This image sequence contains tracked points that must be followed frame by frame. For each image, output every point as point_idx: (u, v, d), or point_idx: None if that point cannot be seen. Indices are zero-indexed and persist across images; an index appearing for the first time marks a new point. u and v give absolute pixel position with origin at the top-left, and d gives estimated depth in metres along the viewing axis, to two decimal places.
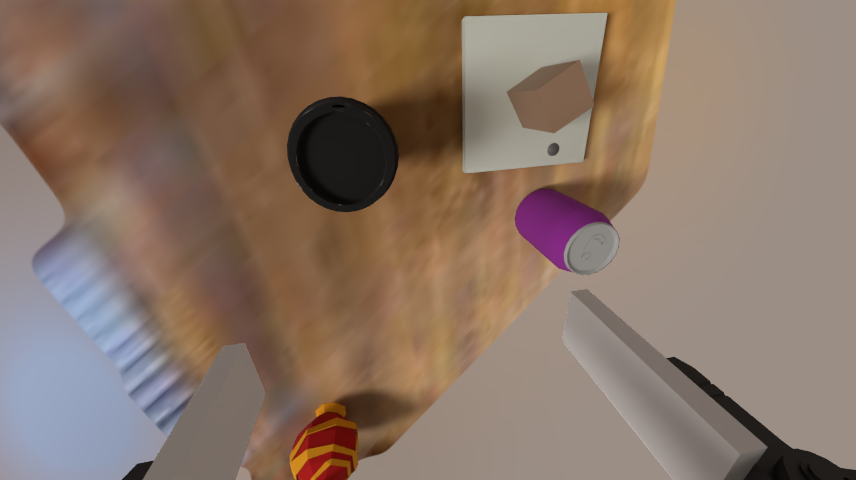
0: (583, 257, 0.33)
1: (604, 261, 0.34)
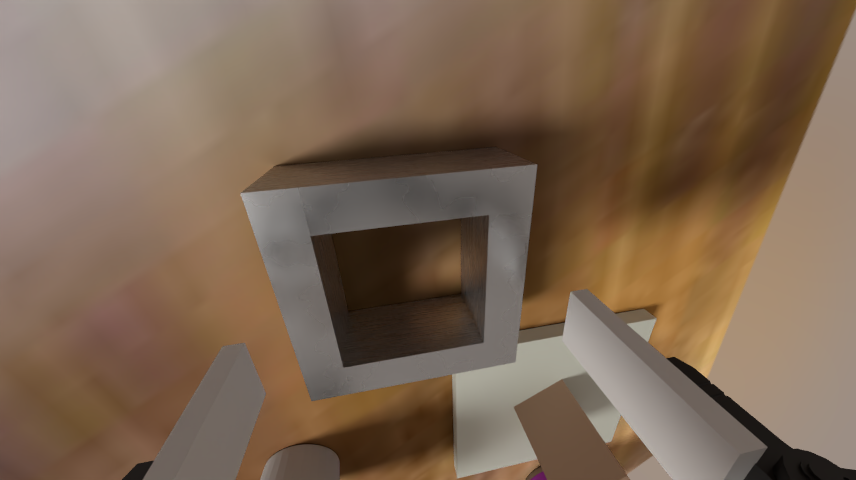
0: None
1: None
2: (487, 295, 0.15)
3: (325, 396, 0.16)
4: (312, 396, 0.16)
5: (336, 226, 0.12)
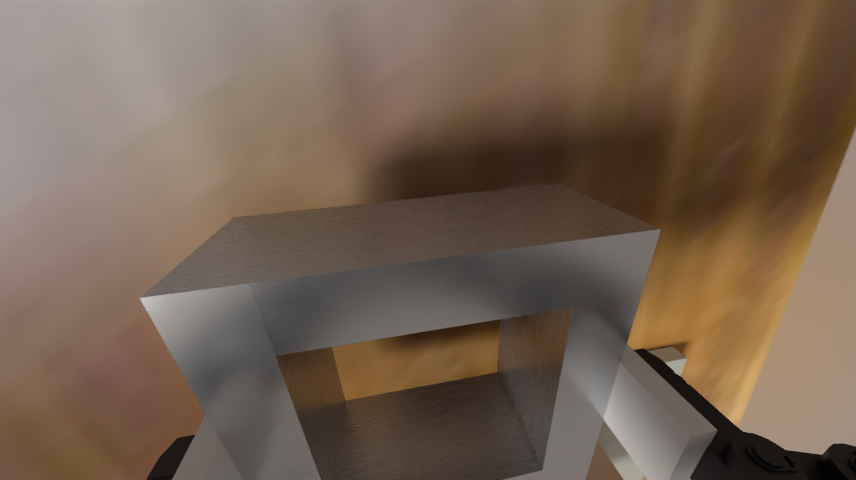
0: None
1: None
2: (555, 414, 0.10)
3: None
4: None
5: (320, 339, 0.07)
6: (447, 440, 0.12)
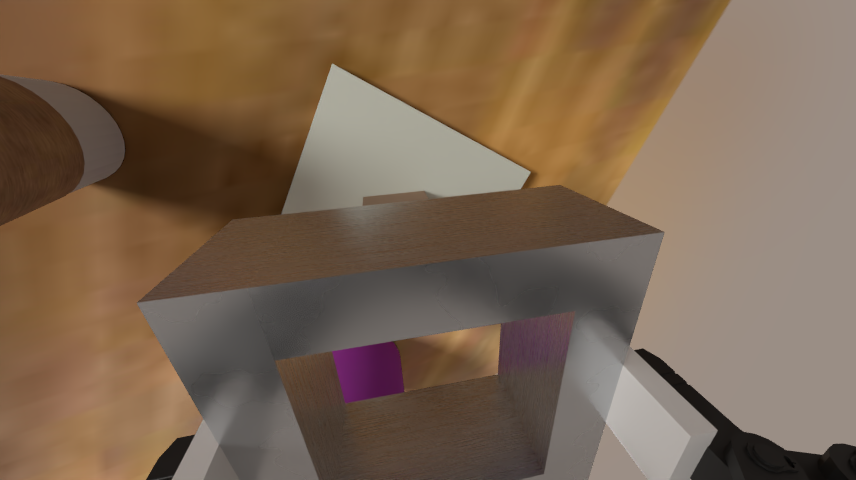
0: None
1: None
2: (556, 418, 0.10)
3: None
4: None
5: (320, 343, 0.07)
6: (448, 443, 0.12)
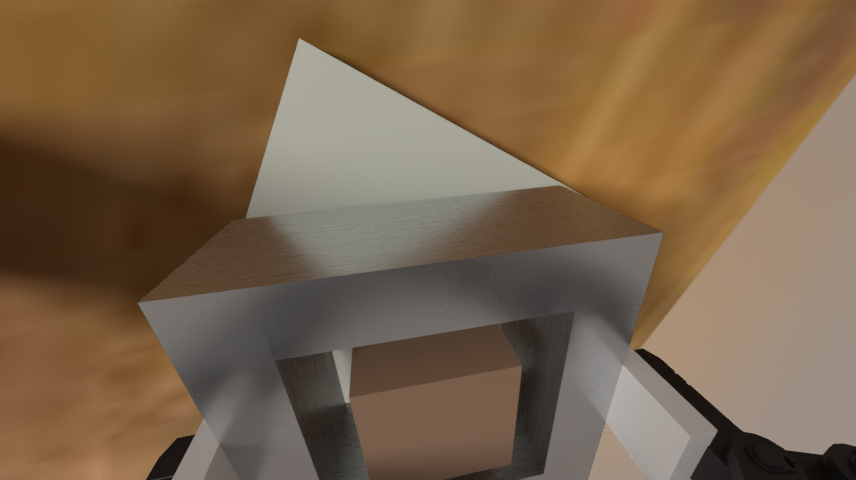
0: None
1: None
2: (556, 417, 0.10)
3: None
4: None
5: (320, 343, 0.07)
6: None
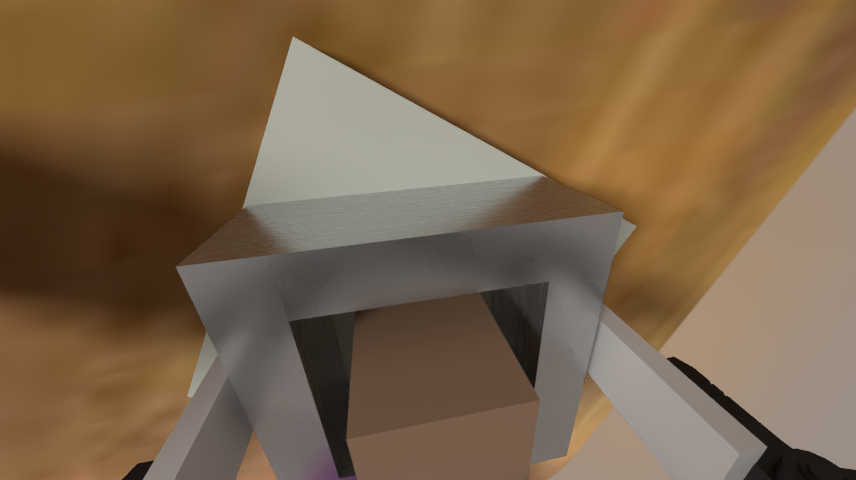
0: None
1: None
2: (537, 382, 0.11)
3: None
4: None
5: (327, 306, 0.08)
6: None
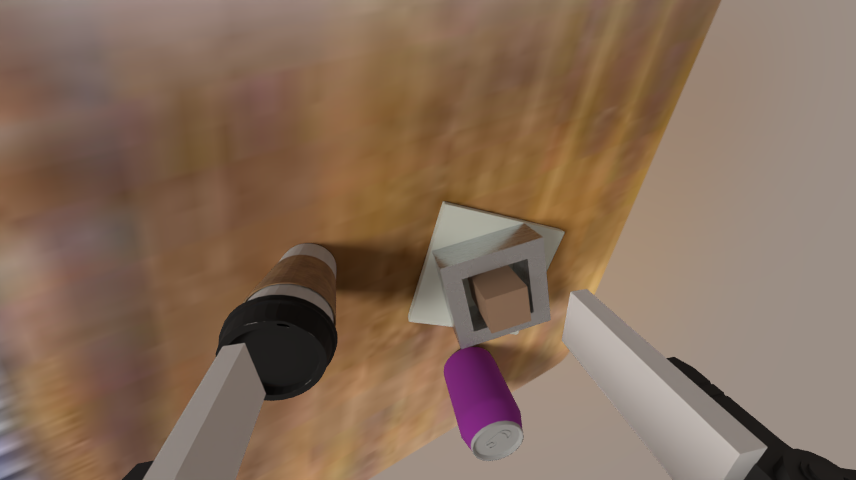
0: (489, 445, 0.35)
1: (506, 450, 0.36)
2: (531, 290, 0.35)
3: (466, 346, 0.36)
4: (461, 347, 0.36)
5: (471, 274, 0.32)
6: None
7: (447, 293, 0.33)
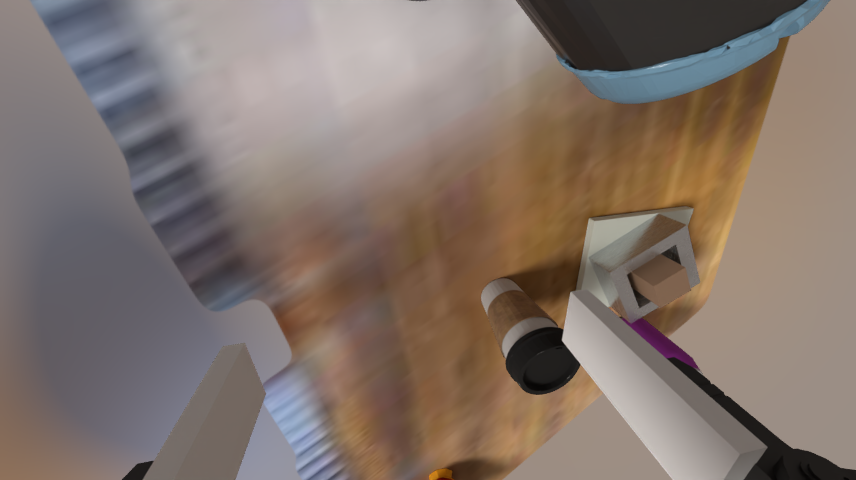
0: None
1: None
2: (682, 265, 0.43)
3: (634, 320, 0.46)
4: (630, 322, 0.46)
5: (633, 269, 0.41)
6: None
7: (616, 287, 0.42)
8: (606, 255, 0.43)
